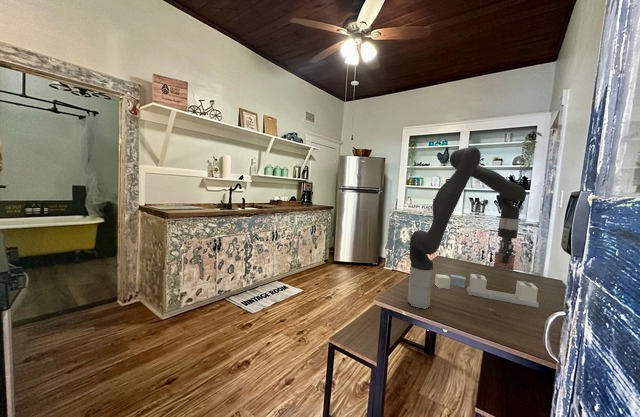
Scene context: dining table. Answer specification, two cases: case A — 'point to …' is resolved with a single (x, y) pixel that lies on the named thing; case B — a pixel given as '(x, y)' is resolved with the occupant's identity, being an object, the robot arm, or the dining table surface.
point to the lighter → (499, 259)
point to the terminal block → (457, 281)
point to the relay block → (442, 281)
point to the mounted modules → (523, 289)
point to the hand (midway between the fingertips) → (503, 262)
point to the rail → (502, 297)
